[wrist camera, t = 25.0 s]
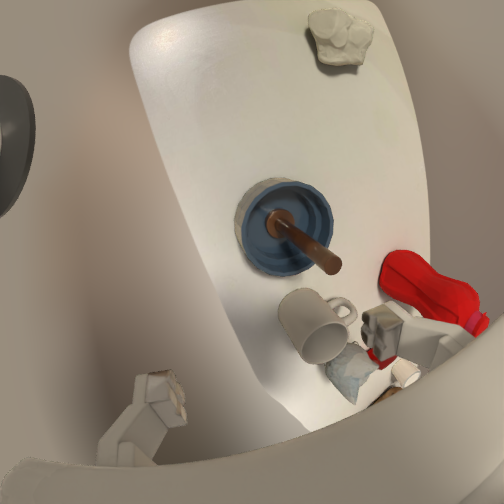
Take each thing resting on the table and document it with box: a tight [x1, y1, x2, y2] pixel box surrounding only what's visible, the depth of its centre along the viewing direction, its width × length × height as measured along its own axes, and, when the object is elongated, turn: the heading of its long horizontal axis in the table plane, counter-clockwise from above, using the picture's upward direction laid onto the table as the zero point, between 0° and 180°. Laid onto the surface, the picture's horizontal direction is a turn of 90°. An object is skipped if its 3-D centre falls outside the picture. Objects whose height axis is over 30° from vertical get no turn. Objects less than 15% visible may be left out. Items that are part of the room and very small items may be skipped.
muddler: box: [265, 208, 342, 275], centre depth 33 cm, size 4×4×17 cm
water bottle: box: [379, 250, 489, 338], centre depth 40 cm, size 9×11×25 cm
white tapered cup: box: [391, 358, 421, 389], centre depth 62 cm, size 7×7×7 cm
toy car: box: [367, 348, 397, 370], centre depth 57 cm, size 14×6×5 cm, turn 123°
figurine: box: [322, 341, 379, 405], centre depth 47 cm, size 10×9×15 cm
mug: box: [278, 288, 358, 364], centre depth 44 cm, size 12×8×11 cm
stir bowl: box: [234, 178, 334, 277], centre depth 39 cm, size 13×13×6 cm
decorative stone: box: [308, 8, 374, 66], centre depth 30 cm, size 11×9×10 cm
